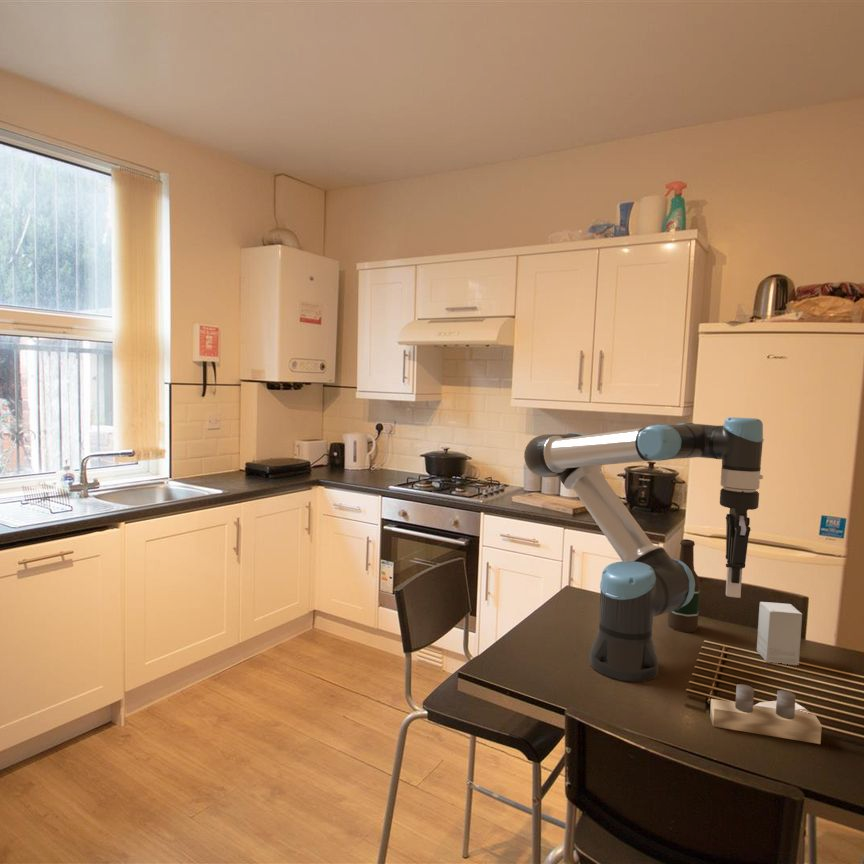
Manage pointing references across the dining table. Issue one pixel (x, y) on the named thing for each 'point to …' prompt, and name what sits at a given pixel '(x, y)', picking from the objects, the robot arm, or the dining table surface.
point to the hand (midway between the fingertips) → (732, 595)
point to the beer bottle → (688, 614)
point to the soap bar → (773, 705)
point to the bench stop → (765, 716)
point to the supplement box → (779, 633)
